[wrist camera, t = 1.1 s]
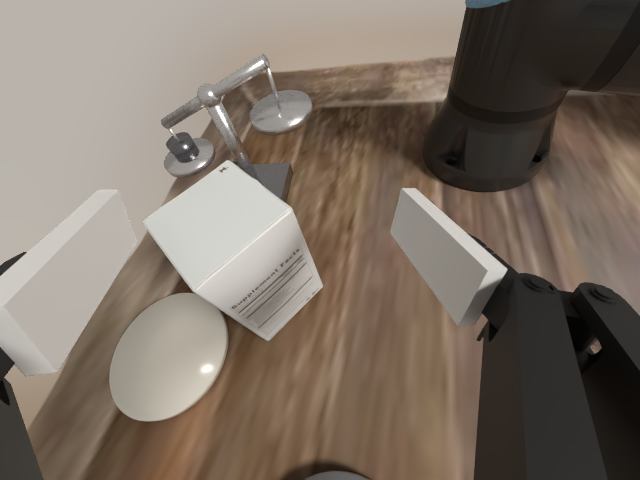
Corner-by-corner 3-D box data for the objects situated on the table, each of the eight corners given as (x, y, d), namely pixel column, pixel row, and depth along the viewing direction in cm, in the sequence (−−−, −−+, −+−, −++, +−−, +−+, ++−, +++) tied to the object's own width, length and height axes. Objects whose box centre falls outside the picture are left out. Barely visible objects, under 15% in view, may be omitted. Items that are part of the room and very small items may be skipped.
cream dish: (243, 299, 33) (238, 295, 32) (206, 430, 26) (199, 431, 25) (150, 294, 36) (143, 290, 35) (96, 411, 29) (85, 411, 28)
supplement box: (223, 291, 34) (136, 219, 22) (278, 244, 36) (227, 155, 24) (267, 345, 30) (188, 294, 17) (326, 287, 32) (294, 205, 20)
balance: (330, 170, 42) (304, 32, 27) (325, 206, 38) (292, 70, 23) (202, 176, 47) (118, 60, 31) (187, 208, 43) (84, 95, 28)
